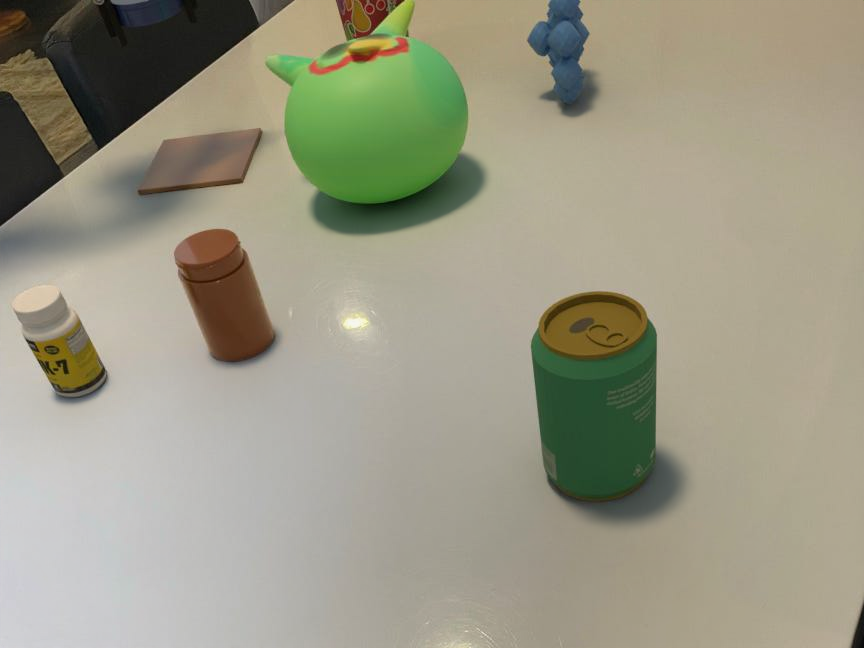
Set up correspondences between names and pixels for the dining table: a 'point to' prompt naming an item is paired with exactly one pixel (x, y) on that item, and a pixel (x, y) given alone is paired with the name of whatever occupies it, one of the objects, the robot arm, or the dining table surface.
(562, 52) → the grapes
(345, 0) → the smoothie
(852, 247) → the dining table surface
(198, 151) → the coaster
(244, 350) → the jar
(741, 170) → the dining table surface
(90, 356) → the supplement bottle
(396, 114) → the toy bird
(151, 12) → the lid
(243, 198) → the dining table surface
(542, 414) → the beverage can
